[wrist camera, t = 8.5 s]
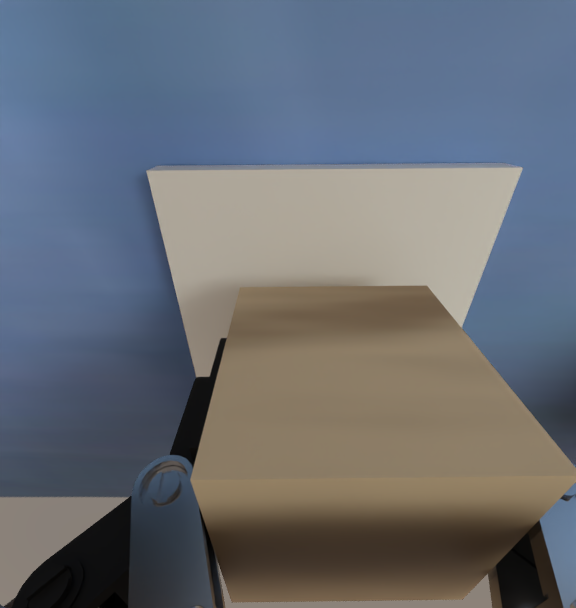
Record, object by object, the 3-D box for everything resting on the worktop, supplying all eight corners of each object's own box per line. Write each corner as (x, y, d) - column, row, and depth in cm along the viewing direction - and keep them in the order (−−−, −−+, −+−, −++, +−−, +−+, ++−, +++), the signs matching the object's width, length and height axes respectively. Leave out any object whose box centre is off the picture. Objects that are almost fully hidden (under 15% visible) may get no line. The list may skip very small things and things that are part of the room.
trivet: (157, 165, 10) (146, 170, 10) (504, 162, 10) (523, 167, 10) (209, 398, 17) (205, 413, 16) (422, 396, 17) (429, 411, 16)
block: (239, 287, 10) (189, 479, 5) (426, 285, 10) (582, 475, 5) (252, 409, 13) (231, 602, 8) (392, 408, 13) (462, 599, 8)
